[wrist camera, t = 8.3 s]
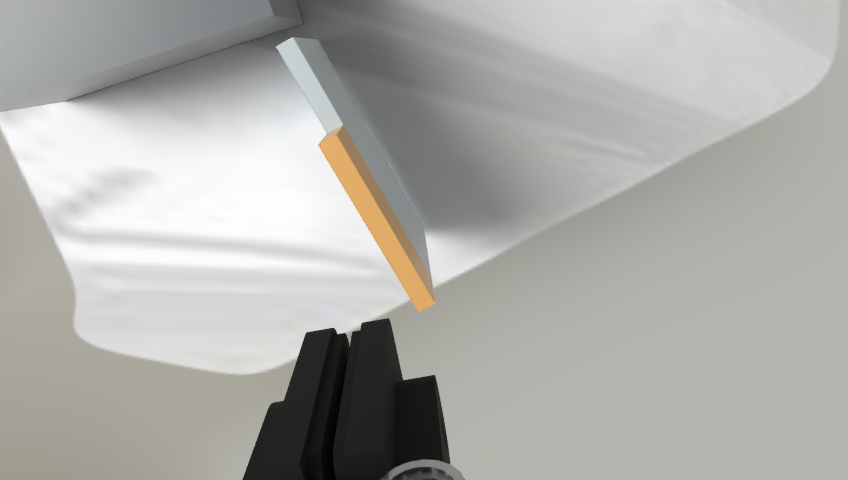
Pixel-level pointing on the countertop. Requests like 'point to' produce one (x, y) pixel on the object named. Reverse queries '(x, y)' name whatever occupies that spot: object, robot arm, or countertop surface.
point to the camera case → (118, 41)
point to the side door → (362, 168)
